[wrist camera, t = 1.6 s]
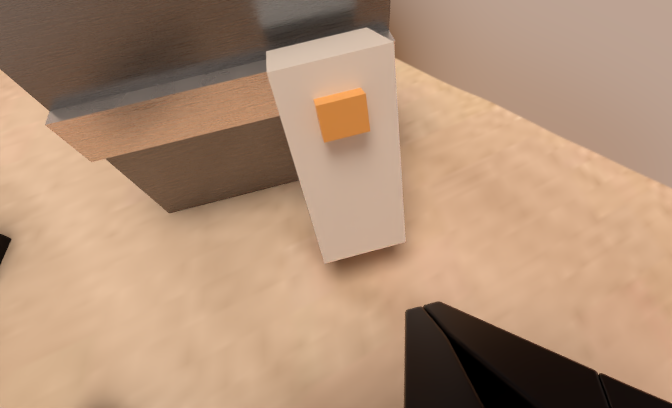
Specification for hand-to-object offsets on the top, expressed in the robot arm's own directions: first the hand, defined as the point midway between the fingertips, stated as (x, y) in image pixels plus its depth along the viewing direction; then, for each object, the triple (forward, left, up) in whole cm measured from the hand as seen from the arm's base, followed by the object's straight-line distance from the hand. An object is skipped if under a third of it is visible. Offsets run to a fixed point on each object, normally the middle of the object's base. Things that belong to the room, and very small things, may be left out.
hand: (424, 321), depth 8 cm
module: (+7, -1, -10) cm, 13 cm away
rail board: (+17, +1, -13) cm, 22 cm away
